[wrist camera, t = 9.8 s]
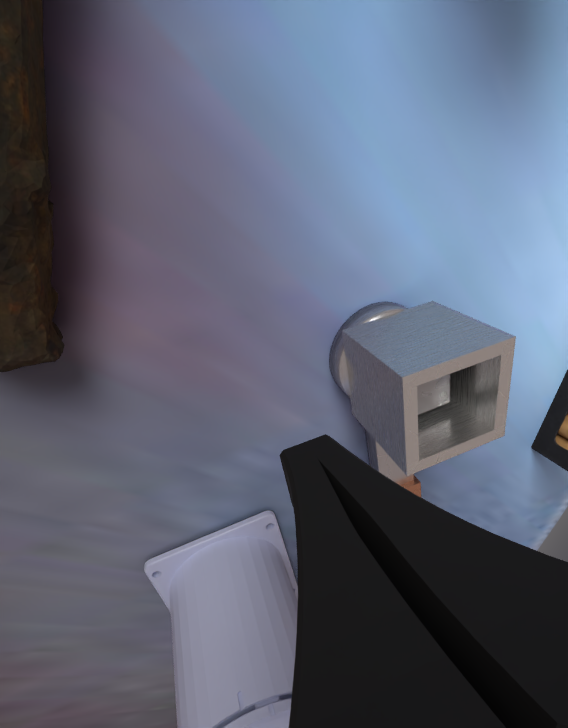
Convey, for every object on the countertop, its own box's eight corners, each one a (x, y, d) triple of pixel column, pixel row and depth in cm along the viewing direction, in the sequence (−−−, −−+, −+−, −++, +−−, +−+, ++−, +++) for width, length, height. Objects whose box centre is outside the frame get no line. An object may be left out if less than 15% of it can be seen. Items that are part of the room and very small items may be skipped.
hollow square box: (432, 384, 22) (504, 435, 17) (352, 414, 21) (407, 476, 16) (432, 300, 19) (515, 336, 15) (341, 330, 18) (402, 377, 14)
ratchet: (321, 320, 19) (366, 356, 16) (418, 288, 20) (482, 314, 17) (363, 570, 30) (396, 629, 26) (426, 541, 31) (466, 593, 27)
